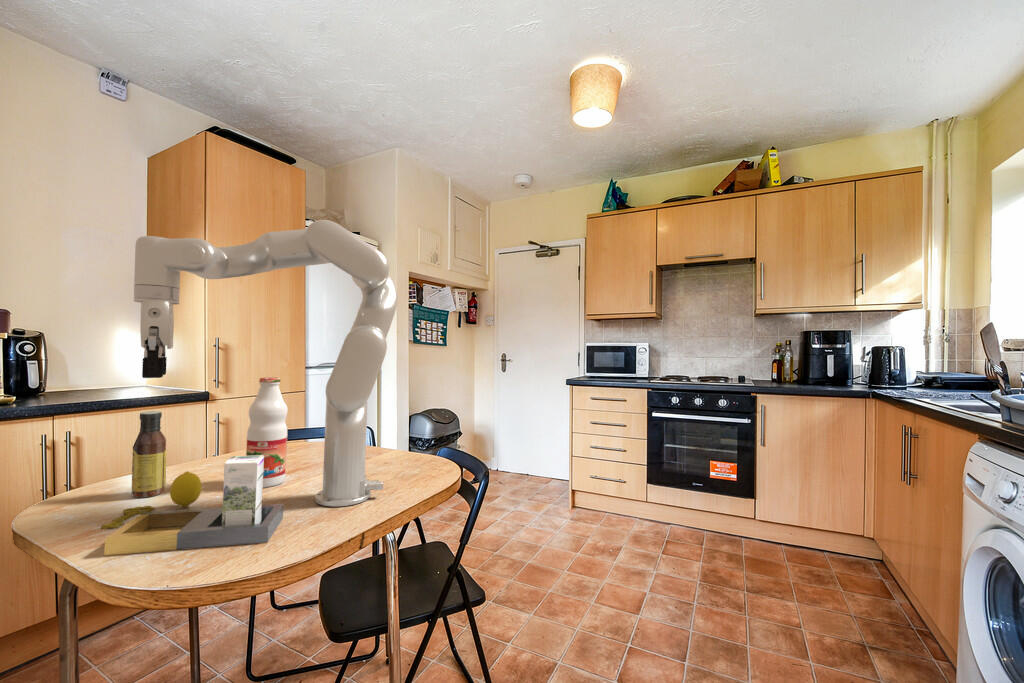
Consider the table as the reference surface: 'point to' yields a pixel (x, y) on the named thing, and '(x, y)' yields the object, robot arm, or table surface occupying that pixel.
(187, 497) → the lemon
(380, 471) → the table surface
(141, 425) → the sauce bottle
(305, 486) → the table surface
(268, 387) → the fruit juice
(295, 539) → the table surface
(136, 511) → the key
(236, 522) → the syrup box
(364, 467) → the robot arm
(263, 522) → the tray
